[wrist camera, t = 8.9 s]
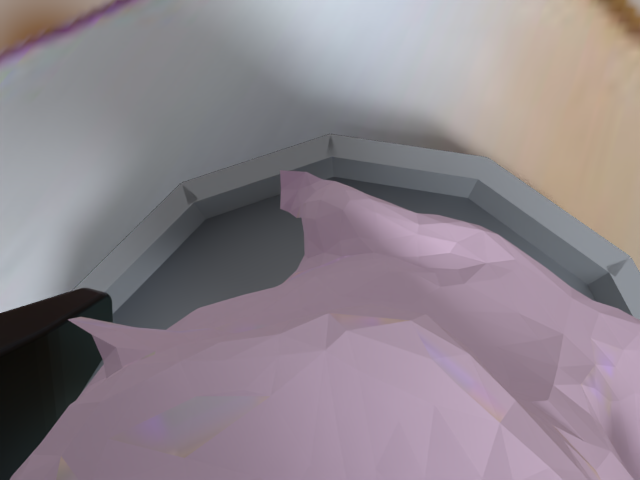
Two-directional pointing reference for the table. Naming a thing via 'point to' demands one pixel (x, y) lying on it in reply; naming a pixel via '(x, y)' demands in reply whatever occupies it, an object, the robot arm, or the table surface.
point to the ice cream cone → (366, 367)
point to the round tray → (288, 235)
